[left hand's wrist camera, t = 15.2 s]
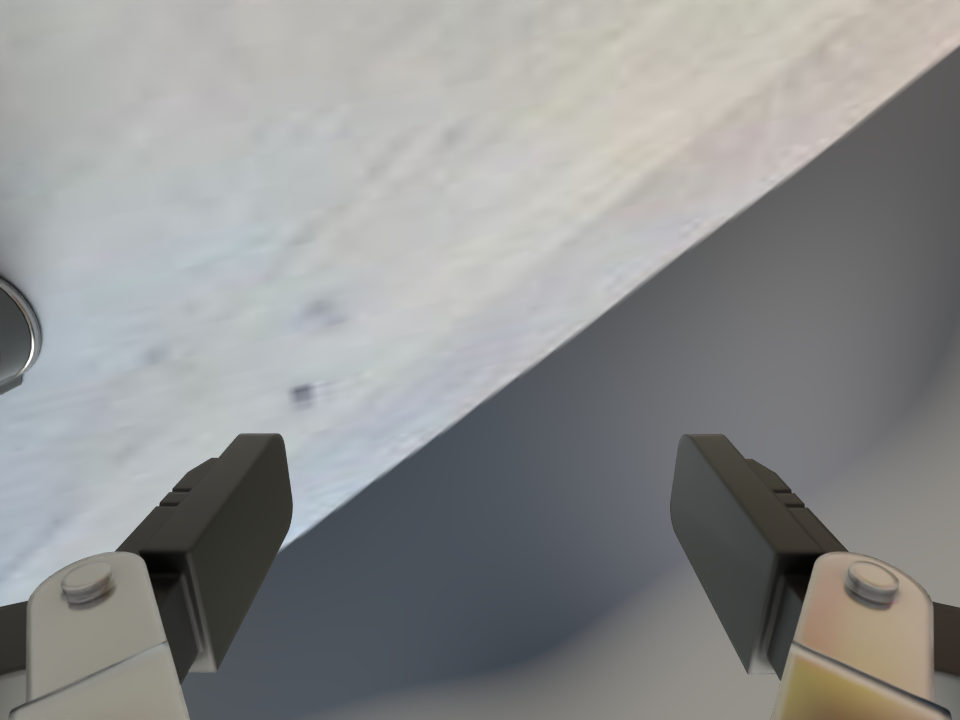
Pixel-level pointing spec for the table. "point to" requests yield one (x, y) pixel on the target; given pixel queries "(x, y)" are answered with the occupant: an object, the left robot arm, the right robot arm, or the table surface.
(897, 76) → the table surface
